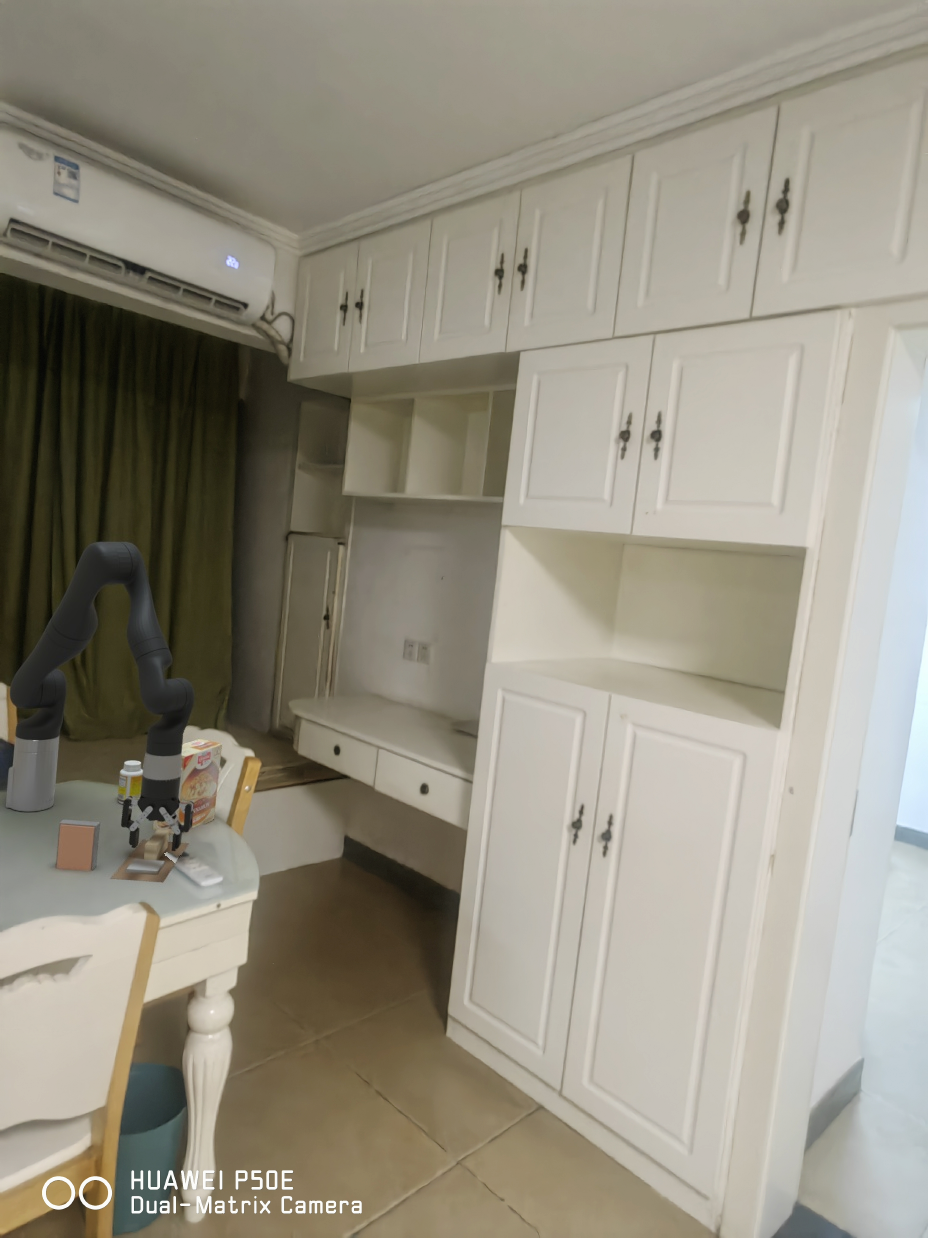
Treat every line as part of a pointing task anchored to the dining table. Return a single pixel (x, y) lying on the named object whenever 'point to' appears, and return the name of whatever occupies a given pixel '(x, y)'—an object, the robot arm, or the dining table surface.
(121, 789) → the supplement bottle
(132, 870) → the turner
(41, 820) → the dining table surface
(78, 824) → the glazed tile
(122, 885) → the dining table surface
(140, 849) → the board
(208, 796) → the coffeecake box
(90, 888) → the dining table surface
